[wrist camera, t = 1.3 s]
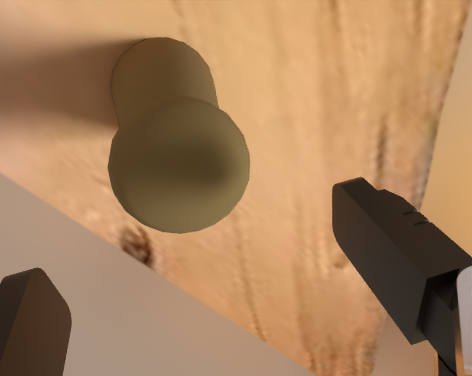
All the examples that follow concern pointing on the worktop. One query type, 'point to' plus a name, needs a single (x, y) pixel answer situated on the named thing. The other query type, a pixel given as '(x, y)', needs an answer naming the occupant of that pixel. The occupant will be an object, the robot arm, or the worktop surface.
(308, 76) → the worktop surface
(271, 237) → the worktop surface
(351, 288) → the worktop surface
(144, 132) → the cork
